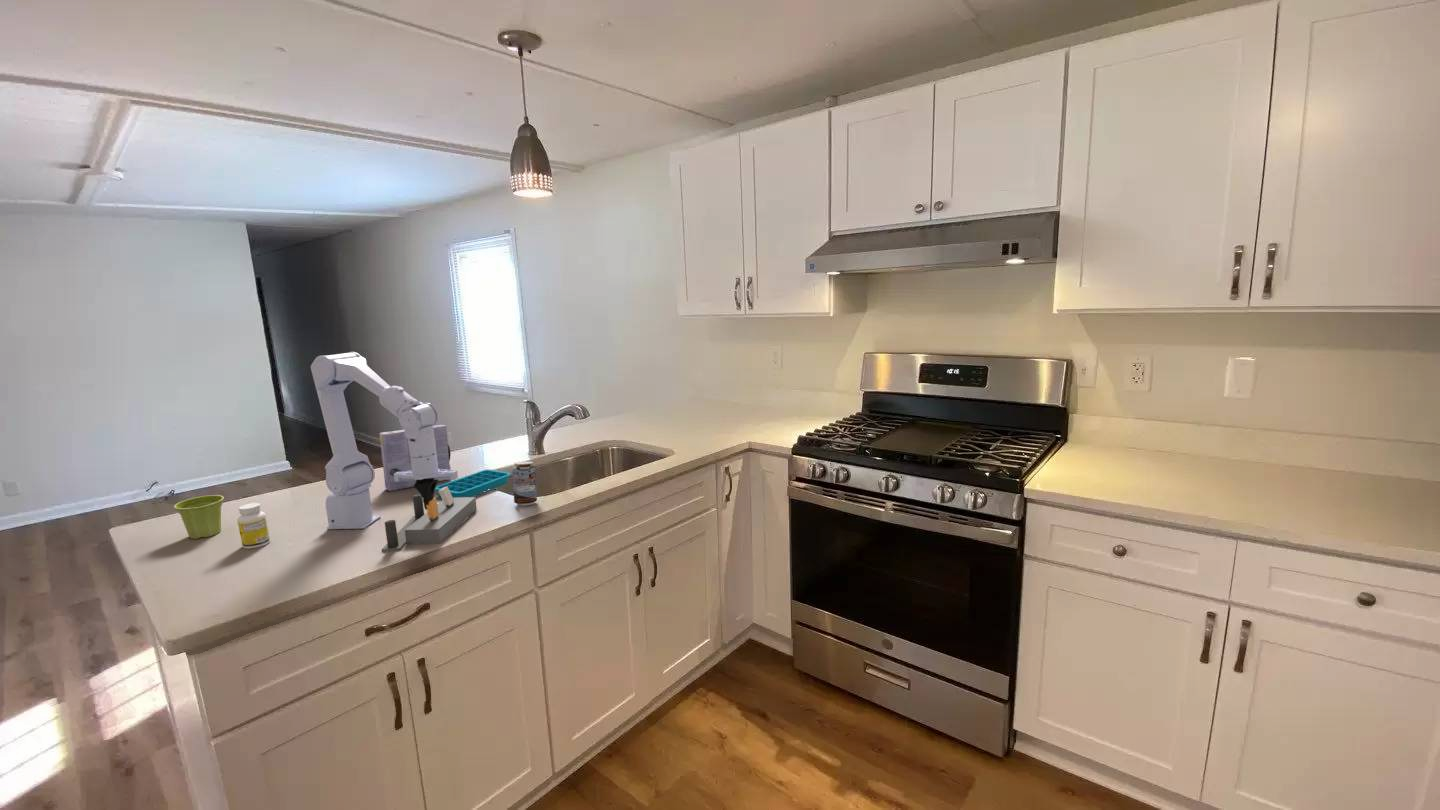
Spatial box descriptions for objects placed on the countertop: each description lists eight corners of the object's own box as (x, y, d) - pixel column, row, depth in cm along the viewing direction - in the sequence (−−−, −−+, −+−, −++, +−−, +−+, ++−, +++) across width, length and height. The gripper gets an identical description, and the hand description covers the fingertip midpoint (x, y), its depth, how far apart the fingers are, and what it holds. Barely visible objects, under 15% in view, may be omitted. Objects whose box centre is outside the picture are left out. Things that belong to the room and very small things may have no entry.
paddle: (445, 508, 155) (438, 491, 154) (451, 504, 158) (443, 487, 157) (450, 507, 155) (442, 489, 154) (455, 502, 158) (447, 485, 157)
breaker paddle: (428, 521, 146) (425, 502, 145) (435, 516, 149) (431, 497, 148) (433, 520, 146) (430, 501, 145) (439, 516, 149) (436, 497, 148)
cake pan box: (451, 475, 194) (445, 422, 191) (455, 479, 190) (449, 424, 187) (384, 488, 182) (377, 432, 179) (388, 492, 178) (380, 435, 175)
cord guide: (381, 552, 138) (378, 524, 136) (414, 518, 158) (411, 494, 157) (400, 551, 138) (396, 523, 137) (430, 517, 159) (427, 493, 157)
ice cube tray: (432, 498, 174) (431, 488, 174) (487, 478, 192) (486, 469, 191) (460, 503, 169) (459, 493, 169) (514, 482, 187) (513, 473, 186)
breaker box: (406, 543, 142) (404, 529, 141) (447, 509, 163) (445, 497, 163) (440, 543, 142) (438, 529, 141) (476, 509, 163) (475, 497, 163)
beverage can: (513, 509, 163) (510, 467, 160) (515, 500, 170) (511, 459, 167) (538, 507, 164) (534, 465, 162) (538, 498, 171) (535, 457, 169)
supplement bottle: (247, 542, 145) (240, 503, 143) (274, 538, 147) (267, 500, 145) (238, 551, 140) (231, 511, 138) (266, 547, 142) (259, 507, 140)
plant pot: (239, 528, 153) (233, 496, 151) (198, 543, 144) (192, 509, 143) (212, 525, 156) (205, 493, 154) (171, 540, 147) (164, 506, 145)
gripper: (384, 460, 140) (391, 514, 143) (446, 458, 140) (452, 513, 143) (399, 451, 147) (406, 504, 150) (458, 450, 147) (464, 502, 150)
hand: (430, 508), depth 147 cm, fingers closed, pressing on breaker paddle
